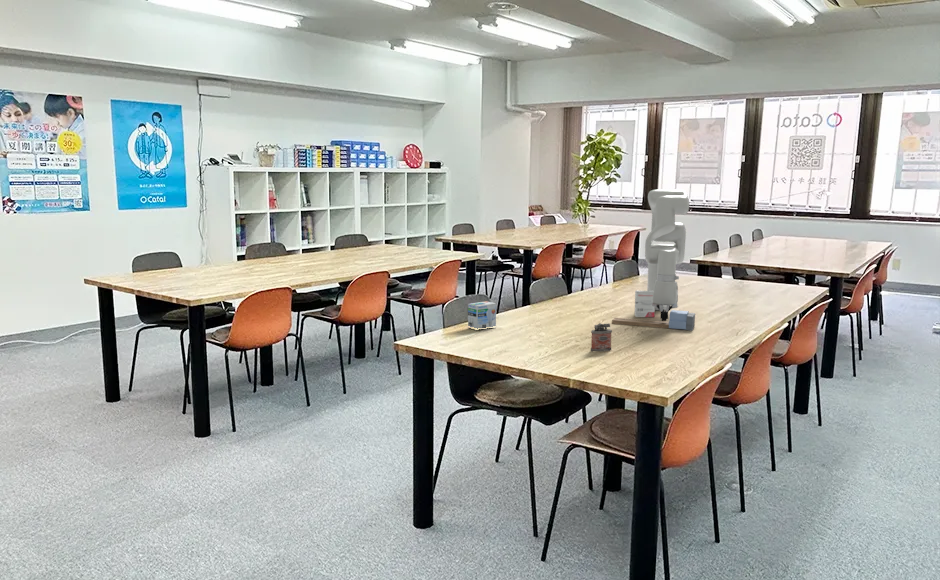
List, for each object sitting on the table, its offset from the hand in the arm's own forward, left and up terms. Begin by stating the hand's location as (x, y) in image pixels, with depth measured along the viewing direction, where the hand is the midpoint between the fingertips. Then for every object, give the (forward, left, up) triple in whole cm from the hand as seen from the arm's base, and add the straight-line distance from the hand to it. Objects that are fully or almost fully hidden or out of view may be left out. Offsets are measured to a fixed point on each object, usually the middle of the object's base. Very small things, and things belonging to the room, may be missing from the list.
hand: (664, 320), depth 303 cm
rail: (0, -5, -3) cm, 5 cm away
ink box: (-20, -12, -3) cm, 23 cm away
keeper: (0, +6, -3) cm, 7 cm away
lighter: (+54, -15, -3) cm, 56 cm away
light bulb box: (+36, -70, -3) cm, 79 cm away
